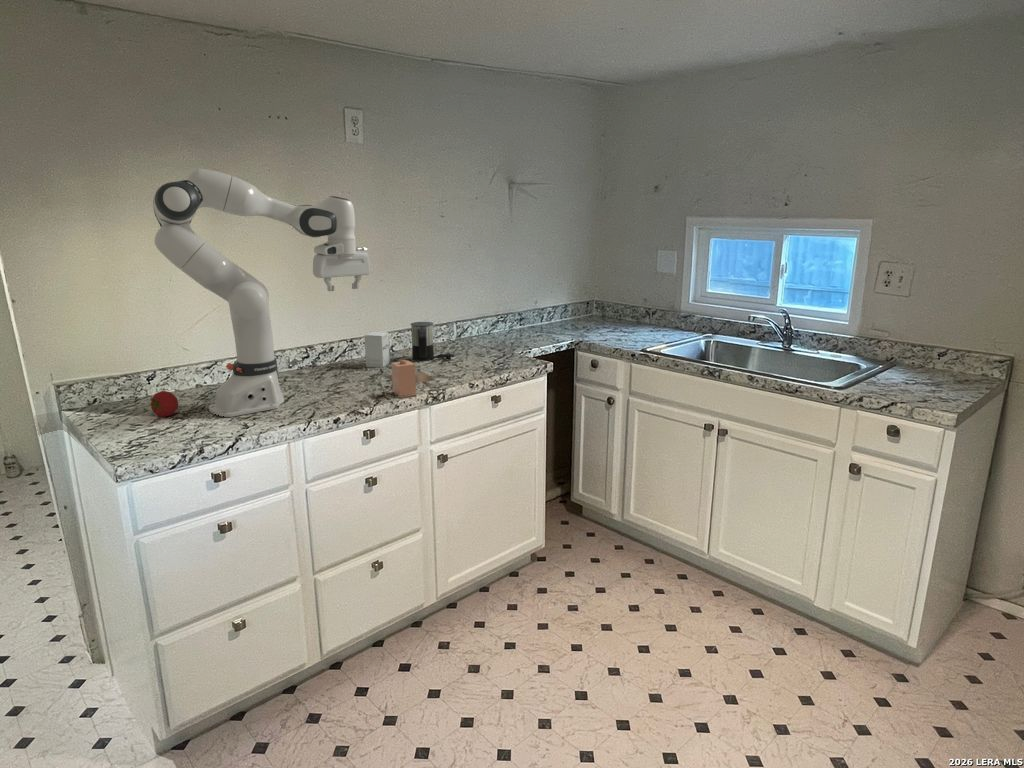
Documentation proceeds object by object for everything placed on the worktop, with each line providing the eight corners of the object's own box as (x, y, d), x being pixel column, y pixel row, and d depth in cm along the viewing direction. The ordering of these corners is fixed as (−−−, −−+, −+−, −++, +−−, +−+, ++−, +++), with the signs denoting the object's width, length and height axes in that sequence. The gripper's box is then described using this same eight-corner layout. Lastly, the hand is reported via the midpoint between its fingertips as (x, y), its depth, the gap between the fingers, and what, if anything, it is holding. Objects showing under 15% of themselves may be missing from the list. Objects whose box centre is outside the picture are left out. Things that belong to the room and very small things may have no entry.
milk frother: (409, 357, 269) (407, 322, 265) (445, 354, 275) (444, 319, 271) (419, 365, 256) (418, 328, 252) (457, 361, 263) (456, 325, 259)
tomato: (174, 385, 199) (149, 386, 192) (186, 403, 196) (161, 405, 190) (164, 402, 202) (139, 404, 196) (175, 421, 200) (150, 423, 193)
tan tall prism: (399, 399, 214) (398, 363, 210) (393, 394, 218) (391, 359, 215) (416, 396, 217) (414, 361, 213) (409, 392, 221) (407, 357, 218)
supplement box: (383, 367, 253) (381, 335, 249) (365, 366, 254) (363, 335, 251) (390, 363, 260) (388, 332, 256) (373, 362, 261) (371, 331, 258)
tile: (399, 388, 226) (399, 385, 226) (384, 378, 237) (384, 376, 237) (436, 382, 233) (436, 379, 233) (420, 373, 244) (420, 370, 244)
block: (407, 379, 232) (406, 369, 231) (402, 377, 236) (402, 366, 234) (417, 378, 234) (417, 367, 233) (413, 375, 237) (412, 365, 236)
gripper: (362, 246, 224) (363, 286, 228) (309, 247, 210) (311, 291, 213) (373, 247, 220) (374, 288, 224) (320, 249, 206) (321, 293, 209)
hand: (343, 289), depth 219 cm, fingers open, 8 cm apart
